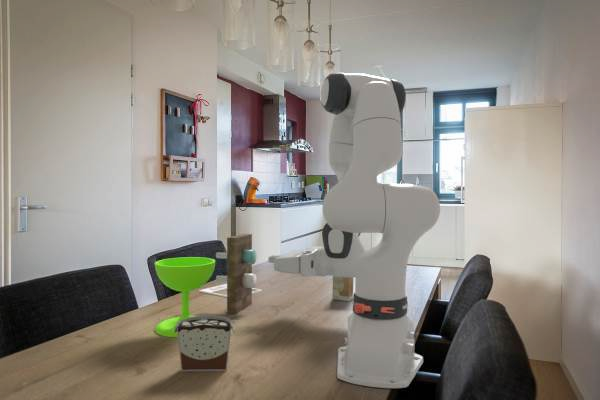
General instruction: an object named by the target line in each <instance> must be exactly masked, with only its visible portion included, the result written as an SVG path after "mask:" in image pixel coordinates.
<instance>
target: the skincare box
mask: <svg viewBox="0 0 600 400" xmlns="http://www.w3.org/2000/svg"><path fill="white" fill-rule="evenodd" d="M354 279H355V277H352V278H341V277H334V276H332V293H331V294H332V297H331V298H332V300H334V301H343V302H347V303H348V302H351V301H353V295H354V281H355V280H354Z"/></svg>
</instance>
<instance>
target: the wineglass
mask: <svg viewBox="0 0 600 400" xmlns="http://www.w3.org/2000/svg"><path fill="white" fill-rule="evenodd" d="M215 266H216V259H214V258H209V257H202V256H201V257H199V256H195V257H194V256H188V257H187V256H186V257H184V256H183V257H172V258H171V257H170V258H163V259H161V260H157V261H154V268H155V272H156V275H157V277H158V279H159V280H160V281H161V282H162V283H163V285H165V286H166V287H167V288H169V289H171V290H173V291H176V292H181V315H180V316H176V317H170V318H167V319H165V320H163V321H160V322H159V323H158V324H157V325H155V329H154V332H155V333H156V334H158V335H160V336H163V337H166V338H167V337H169V338H178V336H177V332H175V333H174V330H175V326H176V323H177V322H179V321H180V320H183V319H186V318H189V317H194V316H195V315H191V314H190V292H192V291H194V290H197V289H199V288H201V287H202V286H203V285H205V284H206V283H207V282H208V281H209V280H210V278H211V277H212V275H213V273H214V271H215Z"/></svg>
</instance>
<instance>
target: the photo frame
mask: <svg viewBox="0 0 600 400" xmlns="http://www.w3.org/2000/svg"><path fill="white" fill-rule="evenodd" d="M225 290H226V291H227V283H225V284H220V285H215V286H212V287H211V286H210V287H207V288H203V289H199V290H198V292H199V293H203V294H208V295H212V296H213V295H214V296H218V297H223V298H227V294H222V293H219V292H221V291H225ZM217 292H218V293H217ZM261 292H263V289H259V288H255V287H254V288H252V295H253V294H257V293H261Z"/></svg>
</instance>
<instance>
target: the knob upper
mask: <svg viewBox="0 0 600 400" xmlns="http://www.w3.org/2000/svg"><path fill="white" fill-rule="evenodd" d="M215 257H216V259H226V260H227V252H221V251H220V252H219V251H217V252H216V253H215ZM256 260H257V252H256V250H255V249H252V250H244V251H243V253H242V261H243V263H244V264H252V265H255V263H256Z"/></svg>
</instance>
